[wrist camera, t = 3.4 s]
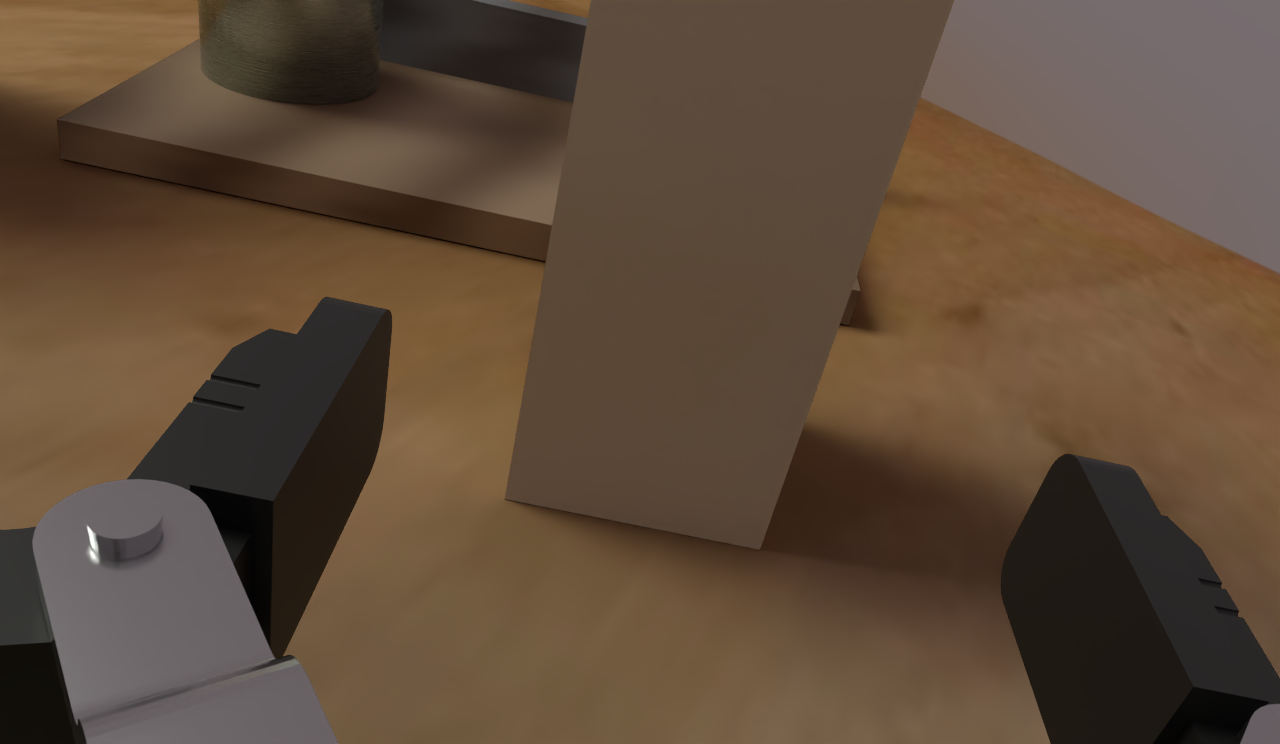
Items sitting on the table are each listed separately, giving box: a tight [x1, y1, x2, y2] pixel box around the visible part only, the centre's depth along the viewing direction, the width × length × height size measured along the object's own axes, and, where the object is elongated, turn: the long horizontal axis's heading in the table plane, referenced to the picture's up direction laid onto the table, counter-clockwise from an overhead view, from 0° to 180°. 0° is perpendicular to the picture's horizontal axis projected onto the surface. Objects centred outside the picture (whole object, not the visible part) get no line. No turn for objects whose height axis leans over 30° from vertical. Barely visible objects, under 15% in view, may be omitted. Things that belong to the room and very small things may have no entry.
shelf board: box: [57, 0, 861, 325], centre depth 35 cm, size 24×13×4 cm, turn 86°
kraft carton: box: [505, 0, 954, 550], centre depth 21 cm, size 6×6×12 cm
